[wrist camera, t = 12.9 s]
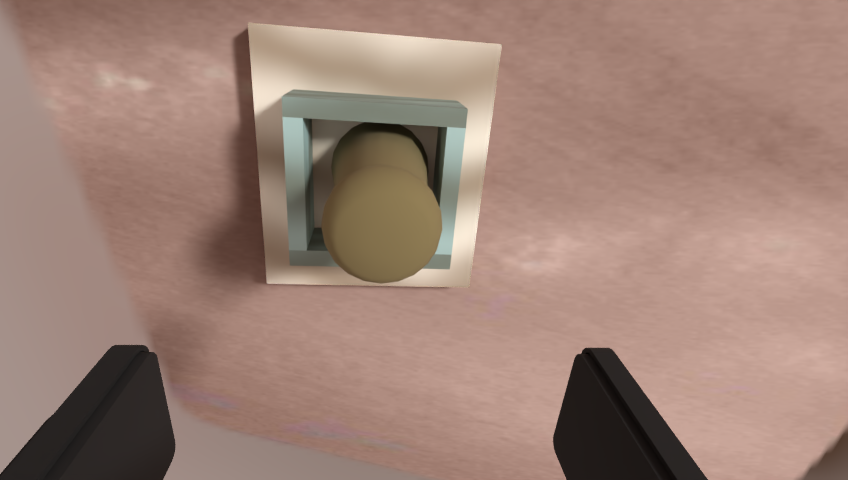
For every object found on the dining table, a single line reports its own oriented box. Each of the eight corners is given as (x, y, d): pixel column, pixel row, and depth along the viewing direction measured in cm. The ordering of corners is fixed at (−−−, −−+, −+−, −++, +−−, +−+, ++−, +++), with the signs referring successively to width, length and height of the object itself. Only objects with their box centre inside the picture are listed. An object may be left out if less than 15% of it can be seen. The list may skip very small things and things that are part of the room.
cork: (331, 212, 29) (308, 305, 19) (330, 116, 26) (303, 163, 16) (425, 215, 29) (450, 306, 19) (432, 122, 27) (465, 170, 17)
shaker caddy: (254, 23, 25) (227, 20, 21) (495, 44, 27) (519, 45, 22) (271, 273, 32) (254, 312, 27) (465, 277, 33) (479, 314, 29)
